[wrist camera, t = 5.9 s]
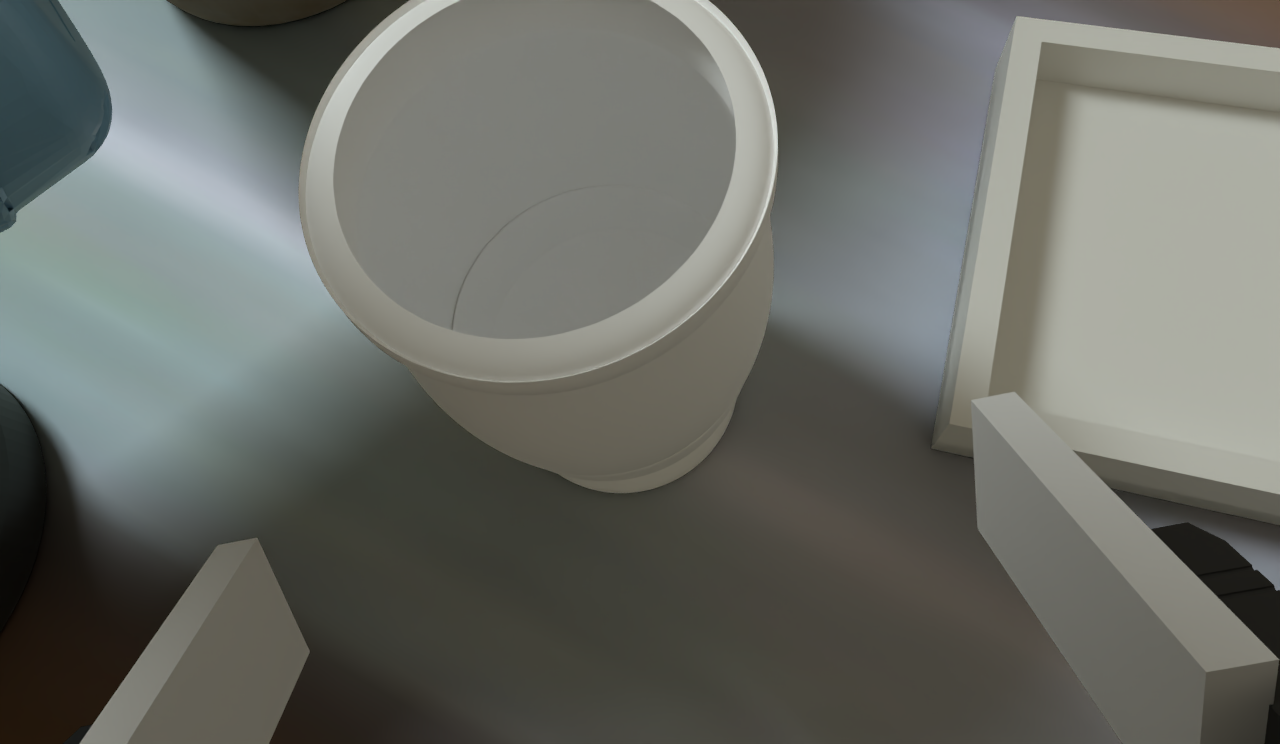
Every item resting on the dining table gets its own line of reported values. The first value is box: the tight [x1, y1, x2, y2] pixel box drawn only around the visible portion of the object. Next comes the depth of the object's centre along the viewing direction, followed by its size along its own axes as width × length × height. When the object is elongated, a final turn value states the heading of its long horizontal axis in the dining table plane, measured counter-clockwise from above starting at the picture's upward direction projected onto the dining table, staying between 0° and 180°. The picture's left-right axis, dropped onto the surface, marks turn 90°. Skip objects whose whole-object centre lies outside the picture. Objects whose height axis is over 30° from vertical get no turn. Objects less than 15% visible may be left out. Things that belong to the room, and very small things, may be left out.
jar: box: [299, 0, 778, 493], centre depth 25 cm, size 11×10×15 cm
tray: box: [931, 16, 1280, 525], centre depth 29 cm, size 16×16×3 cm
